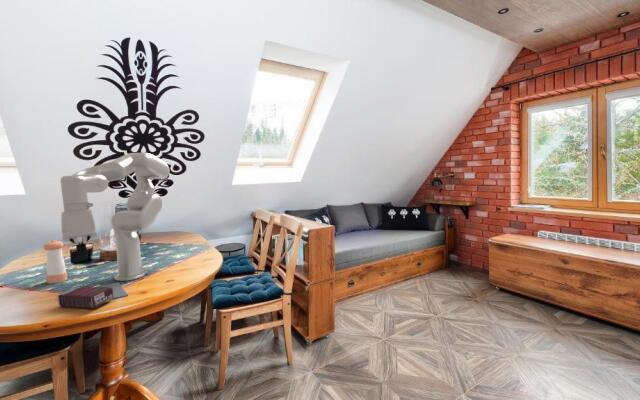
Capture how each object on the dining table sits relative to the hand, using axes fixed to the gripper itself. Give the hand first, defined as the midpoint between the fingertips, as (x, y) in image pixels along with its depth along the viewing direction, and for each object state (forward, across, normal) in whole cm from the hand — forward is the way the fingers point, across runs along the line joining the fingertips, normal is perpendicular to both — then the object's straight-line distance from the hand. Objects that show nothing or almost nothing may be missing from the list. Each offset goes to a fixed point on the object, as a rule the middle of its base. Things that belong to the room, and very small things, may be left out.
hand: (81, 253), depth 122 cm
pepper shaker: (+18, +8, -33) cm, 39 cm away
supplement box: (+15, +6, +2) cm, 16 cm away
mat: (+18, -5, +1) cm, 19 cm away
